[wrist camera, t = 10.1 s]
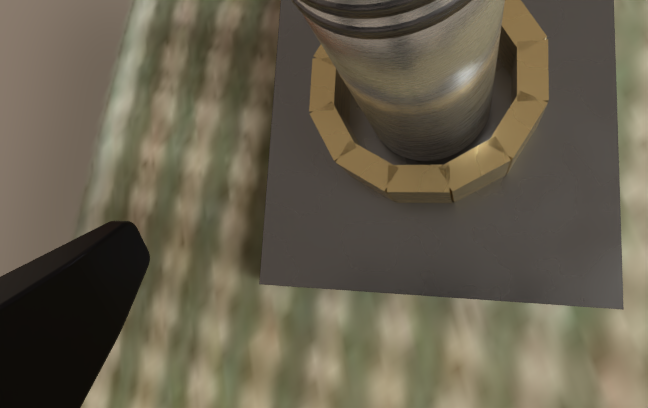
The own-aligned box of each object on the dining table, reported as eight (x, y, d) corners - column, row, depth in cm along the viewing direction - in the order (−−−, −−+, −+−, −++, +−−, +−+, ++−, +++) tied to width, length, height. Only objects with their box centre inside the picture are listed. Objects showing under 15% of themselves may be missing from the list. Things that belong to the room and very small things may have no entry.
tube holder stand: (611, 307, 18) (649, 314, 14) (272, 283, 22) (232, 284, 18) (600, -73, 20) (630, -154, 17) (295, -30, 24) (263, -86, 21)
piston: (516, 123, 19) (602, -150, 7) (399, 183, 20) (297, 34, 8) (455, 23, 20) (438, -351, 8) (349, 83, 21) (196, -173, 9)
